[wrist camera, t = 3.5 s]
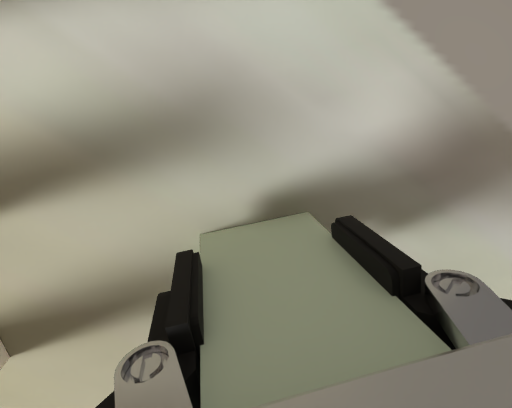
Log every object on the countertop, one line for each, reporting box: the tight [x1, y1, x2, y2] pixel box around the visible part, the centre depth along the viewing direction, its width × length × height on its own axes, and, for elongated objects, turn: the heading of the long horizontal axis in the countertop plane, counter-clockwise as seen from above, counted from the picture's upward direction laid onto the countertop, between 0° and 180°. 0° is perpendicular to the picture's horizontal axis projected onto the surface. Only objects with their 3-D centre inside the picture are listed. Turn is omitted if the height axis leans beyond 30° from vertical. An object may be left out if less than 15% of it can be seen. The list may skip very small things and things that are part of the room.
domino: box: [200, 212, 451, 408], centre depth 9 cm, size 2×5×11 cm, turn 98°
